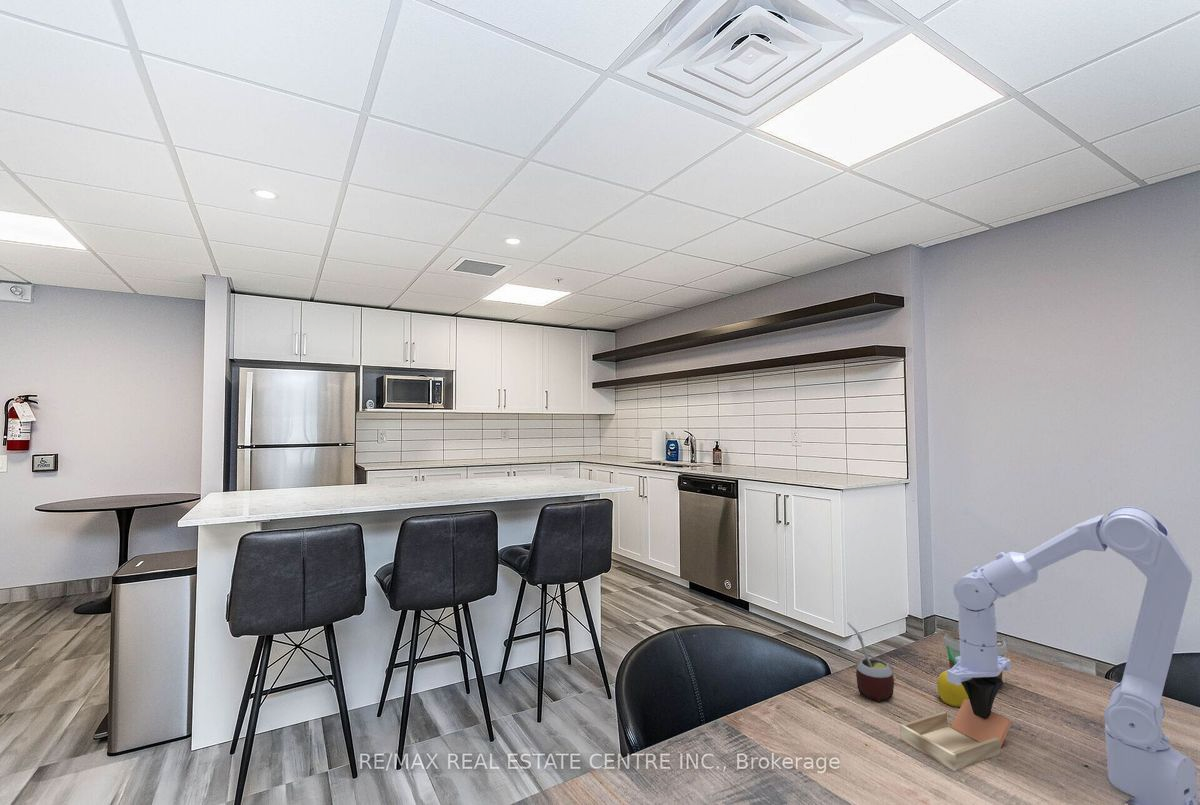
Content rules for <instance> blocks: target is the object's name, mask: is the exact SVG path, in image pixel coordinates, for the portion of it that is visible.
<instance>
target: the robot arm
mask: <svg viewBox="0 0 1200 805" xmlns="http://www.w3.org/2000/svg"><path fill="white" fill-rule="evenodd" d="M1105 516H1106V514H1105V513H1104V514H1100V515H1097V516H1094V517H1092V518H1090V519H1087V520H1085V521H1083V522H1080V523H1077V524H1075V525H1073V526H1071V527H1070V528H1068V529H1066V530H1064V531H1063V532H1061V533H1059V534H1057V535H1056V536H1054V537H1052V538H1051V539H1049V540H1047V541H1045V542H1043V543H1042V544H1040V545H1038V546H1037V547H1034V548H1033V549H1031V550H1029V551H1028V552H1026V553H1022V552H1017V551H1009V552H1007V553H1005V552H1004V551H1001V552H999V553H997V554H996V555H995V556H994V557H995V558H996V559H994V560H992V561H990V562H988V563H987V564H984V565H982V566H981V567H980V566H979V565H977V566H975V567H973V568H972V569H971V571H972V572H968V573H967V574H965V575H964V576H961V578H959V579H958V580H957V581H956V582H955V584H954V586H953V595H954V598H955V600H956V601H957V602H958V633H959V634H958V636H959V638H960V656H958V657H956V658H955V661H956V662H958V663H957V664H956V665H955V666H954V667H953V668H951V669H950V668H949V669H947V681H948V682H951V683H953V684H955V685H957V686H958V685H961V683H962V685H963V687H964V689H965V691H966V693H967V695H968V697H969V701H970V703H971V706H972V710H973V713H974V715H976V716H978V717H980V718H982V719H987V718H988V717H989V716H990V713H991V711H992V709H993V708H992V707H993V705H994V702H995V698H996V696H997V694H998V692H999V690H1001V689H1002V687H1001V686H1003V679H1002V680H1001V679H1000V678H998V677H995V676H998V675H999V674H1000V673H1001V672H1002V673H1003V671H1005V672H1009V671H1011V670H1012V666H1011V659H1008V658H1006V657H1004V656H1003V657H1001V656H998V651H997V641H998V639H997V638H998V636H997V635H998V633H997V618H996V612H995V609H996V608H995V603H994V602H995V601H996V600H997V599H1000V598H1001V599H1003V598H1005V597H1007V596H1009V595H1012V594H1013V593H1016V592H1018V591H1020V590H1022V589H1023V588H1026V587H1028V586H1030V585H1032V584H1034V583H1036V582H1037V581H1038V576H1039V571H1040V570H1042V569H1044V568H1046V567H1049V566H1052V565H1054V564H1055V563H1057V562H1060V561H1062V560H1065V559H1066V558H1069V557H1071V556H1073V555H1075V554H1077V553H1080V552H1082V551H1092V552H1093V551H1094V552H1102V553H1103V552H1106V551H1107V549H1108V548H1110V549H1111V550H1112V551H1114V552H1115V553H1116V554H1119V555H1121V556H1122V557H1123V558H1125V559H1127V560H1129V561H1130V562H1131V563H1132V564H1133V565H1134V566H1135V567H1136V568H1137V569H1138V570H1139V571H1140V572H1141V573H1142V574H1143V575H1144V576H1145V577H1146V579H1147V580H1146V584H1145V589H1144V592H1143V595H1142V600H1141V604H1140V608H1139V611H1138V615H1137V620H1136V624H1135V627H1134V632H1133V635H1132V640H1131V644H1130V648H1129V650H1128V651H1129V652H1128V656H1127V660H1126V663H1125V667H1124V670H1123V675H1122V679H1121V681H1119V683H1117V684H1116V685H1114V686H1113V687H1112V689H1111V690H1110V693H1109V702H1108V705H1107V706H1106V708H1105V710H1104V713H1103V718H1104V722H1105V724H1104V733H1105V735H1104V736H1105V750H1106V751H1105V752H1106V764H1107V766H1106V768H1107V778H1108V780H1109V782H1110V783H1111V784H1112V785H1113V786H1114V787H1115V788H1117V789H1119V791H1122V792H1123V793H1126V794H1128V795H1130V796H1133V797H1132V798H1130V799H1128V800H1125V803H1127V804H1128V805H1199V790H1198V778H1197V769H1196V764H1195V763H1194V761H1193V760H1192V759H1191V758H1190V757H1188V756H1186V755H1185V754H1183V753H1181V752H1179V751H1178V750H1176V749H1175V748H1174V747H1172V746H1171V745H1170V740H1169V738H1168V737H1167V736H1166V735H1165V733H1164V732H1163V729H1162V728H1163V719H1164V718H1165V712H1166V709H1165V706H1164V704H1163V701H1162V696H1163V691H1164V688H1165V684H1166V680H1167V677H1168V672H1169V669H1170V666H1171V665H1170V664H1171V662H1172V657H1173V655H1174V654H1173V653H1174V650H1175V647H1176V646H1175V645H1176V641H1177V638H1178V634H1179V632H1180V627H1181V623H1182V619H1183V615H1184V612H1185V608H1186V605H1187V601H1188V597H1189V592H1190V588H1191V585H1192V580H1193V571H1192V568H1191V567H1190V565H1189V563H1188V562H1187V560H1186V558H1185V557H1184V556H1183V554H1182V552H1181V550H1180V548H1179V547H1178V545H1177V543H1176V542H1175V540H1174V538H1173V536H1172V534H1171V531H1170V530H1169V528H1168V527H1167V526H1166V525H1165V524H1164V523H1163V522H1162V521H1160V520H1159V519H1158V518H1157V517H1155V515H1153V514H1152V513H1151V512H1149V511H1148V510H1146V509H1143V508H1141V507H1138V506H1126V505H1125V506H1120V507H1117V508H1115V509H1112V511H1111V512H1109V513H1108V515H1107V516H1106V518H1104V517H1105ZM1103 519H1104V520H1103ZM1002 670H1003V671H1002ZM1000 688H1001V689H1000Z"/></svg>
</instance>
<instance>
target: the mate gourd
mask: <svg viewBox="0 0 1200 805" xmlns="http://www.w3.org/2000/svg"><path fill="white" fill-rule="evenodd" d="M846 624H847V625H848V626H849V627H850V629H852V630H853V631H854V633H855V634H856V636H857V639H858V641H859V643H860V645H861V648H862V651H863V654H864V657H865V658H864V659H861V660H860V662H859V663H858V664H857V666H856V672H855V677H856V686H857V690H858V693H859V695H860V696H862V695H864V696H865V697H867V698H869V699H871V700H874V701H876V702H877V703H880V702H881V701H885V700H887V699H888V698H892V697H893V695H894V687H895V678H894V675H893V671H892V669H891V668H890V666H889V665H888V663H886V662H885V661H883V660H879V659H877V658H876V659H875V658H870V657H869V655H868V652H867V649H866V647H865V644H864V641H863V637H862V635H861V634H860V632H859V631H858V630H857V629H856V627H854V626H853V625H852V624H851V623H850V622H847V623H846Z"/></svg>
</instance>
